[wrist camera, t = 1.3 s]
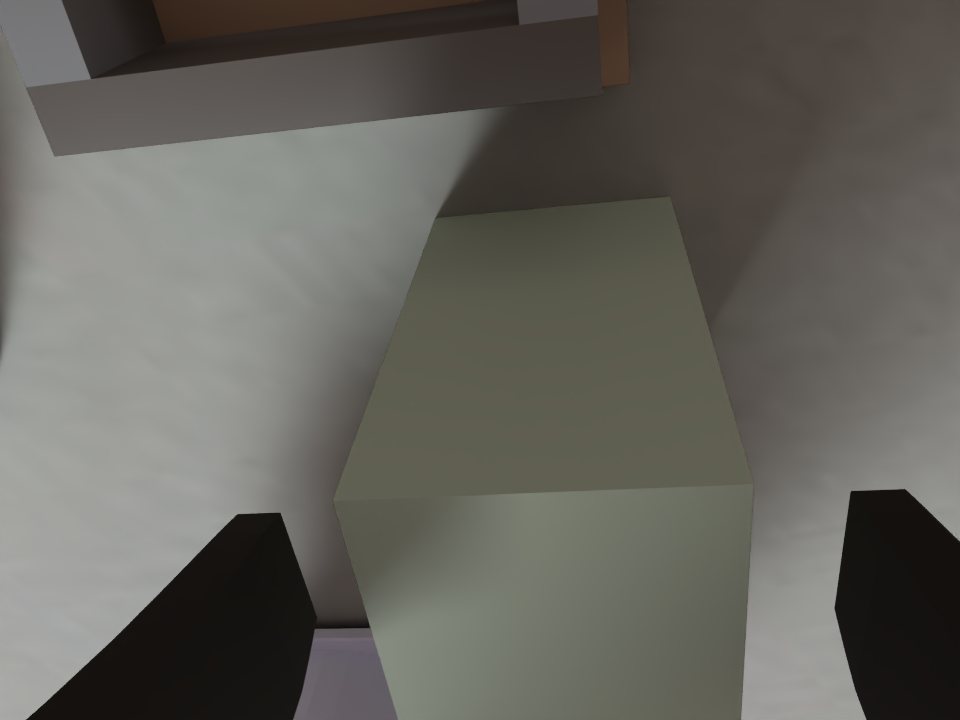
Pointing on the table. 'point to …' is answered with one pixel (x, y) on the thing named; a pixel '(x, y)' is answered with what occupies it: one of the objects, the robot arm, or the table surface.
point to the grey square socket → (297, 62)
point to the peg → (553, 478)
